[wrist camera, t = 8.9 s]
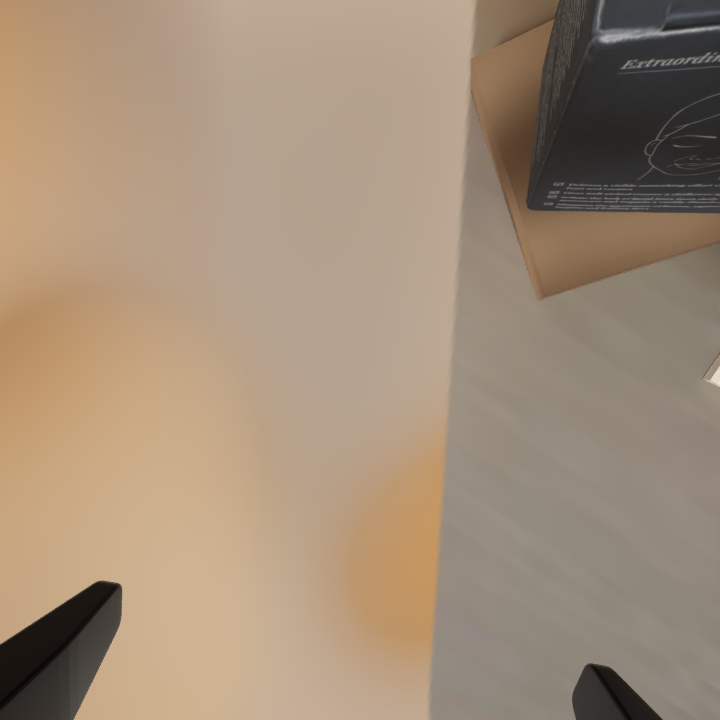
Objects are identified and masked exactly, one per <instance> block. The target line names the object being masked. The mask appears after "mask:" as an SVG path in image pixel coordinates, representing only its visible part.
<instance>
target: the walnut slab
mask: <svg viewBox="0 0 720 720" xmlns="http://www.w3.org/2000/svg"><path fill="white" fill-rule="evenodd" d="M554 21H555V19H553V20H551V21H549V22H547V23H545V24H543V25H541V26H539V27H536V28H534V29H532V30H530V31H528V32H526V33H524V34H522V35H520V36H518V37H516V38H514V39H511V40H509V41H507V42H505V43H503V44H501V45H499V46H497V47H495V48H493V49H491V50H489V51H487V52H484V53H482V54H480V55H478V56H476V57H474V58H472V59H471V94H472V97H473V100H474V103H475V106H476V109H477V113H478V116H479V119H480V122H481V125H482V128H483V131H484V134H485V138H486V141H487V144H488V147H489V150H490V153H491V156H492V159H493V162H494V166H495V169H496V172H497V175H498V178H499V181H500V184H501V187H502V191H503V194H504V197H505V200H506V203H507V206H508V209H509V212H510V215H511V219H512V222H513V225H514V228H515V231H516V234H517V237H518V240H519V244H520V247H521V250H522V253H523V256H524V259H525V262H526V265H527V269H528V272H529V275H530V278H531V281H532V284H533V287H534V290H535V293H536V297H537V300H540V299H544V298H547V297H550V296H553V295H556V294H559V293H562V292H566V291H569V290H572V289H575V288H578V287H581V286H584V285H587V284H591V283H594V282H597V281H600V280H603V279H606V278H609V277H612V276H616V275H619V274H622V273H625V272H628V271H631V270H634V269H638V268H641V267H644V266H647V265H650V264H653V263H656V262H659V261H663V260H666V259H669V258H672V257H675V256H678V255H681V254H684V253H688V252H691V251H694V250H697V249H700V248H703V247H706V246H710V245H713V244H716V243H719V242H720V213H651V212H593V211H592V212H585V211H537V210H530V209H528V208H527V204H526V199H527V191H528V185H529V178H530V168H531V161H532V152H533V146H534V138H535V128H536V120H537V115H538V103H539V94H540V88H541V79H542V70H543V65H544V60H545V56H546V51H547V47H548V44H549V40H550V35H551V32H552V28H553V24H554Z"/></svg>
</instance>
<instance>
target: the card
mask: <svg viewBox="0 0 720 720" xmlns="http://www.w3.org/2000/svg"><path fill="white" fill-rule="evenodd" d="M703 380H705V381H707V382H709V383H712V384H714V385H716V386H718V387H720V354H719V355H718V357H717V358H716V360H715V361H714V363H713V364H712V366H711V367H710V369H709V370H708V371H707V373H706V374H705V376H704V377H703Z"/></svg>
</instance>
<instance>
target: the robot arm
mask: <svg viewBox="0 0 720 720" xmlns="http://www.w3.org/2000/svg"><path fill="white" fill-rule="evenodd" d="M121 615H122V586H121V585H120V584H118V583H114V582H108V581H98V582H96V583H94V584H92V585H91V586H89V587H87V588H86V589H85V590H83V591H81V592H80V593H78V594H77V595H75V596H74V597H72V598H71V599H69V600H67V601H66V602H64V603H63V604H61V605H60V606H59V607H57V608H55V609H54V610H52V611H51V612H49V613H48V614H46V615H44V616H43V617H41V618H40V619H38V620H37V621H35V622H34V623H32V624H31V625H29V626H28V627H26V628H24V629H23V630H21V631H20V632H18V633H17V634H15V635H14V636H12V637H11V638H9V639H8V640H6V641H4V642H3V643H1V644H0V720H73V719H74V718H75V716H76V713H77V712H78V710H79V708H80V706H81V704H82V702H83V699H84V697H85V695H86V693H87V691H88V689H89V687H90V685H91V683H92V681H93V679H94V677H95V675H96V673H97V671H98V669H99V667H100V665H101V663H102V661H103V659H104V657H105V655H106V653H107V651H108V649H109V647H110V644H111V643H112V640H113V638H114V636H115V634H116V632H117V630H118V628H119V625H120V621H121ZM572 703H573V709H574V713H575V717H576V720H663V719H662V718H661V717H660V716H659V715H658V714H657V713H656V712H655V711H654V710H653V709H652V708H651V707H650V706H649V705H648V704H647V703H646V702H645V701H644V700H643V699H642V698H641V697H640V696H639V695H638V694H637V693H636V692H635V691H634V690H633V689H632V688H631V687H630V686H629V685H628V684H627V683H626V682H625V681H624V680H623V679H622V678H621V677H620V676H619V675H618V674H617V673H616V672H615V671H614V670H613V669H611V668H610V667H608V666H603V665H598V664H592V663H591V664H587V665H586V666H585V667H584V669H583V671H582V674H581V676H580V678H579V680H578V682H577V684H576V687H575V689H574V691H573V696H572Z"/></svg>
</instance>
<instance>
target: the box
mask: <svg viewBox="0 0 720 720" xmlns="http://www.w3.org/2000/svg"><path fill="white" fill-rule="evenodd" d="M526 204H527V208H528V209H530V210H537V211H585V212H592V211H593V212H651V213H720V0H560V1H559V4H558V8H557V12H556V16H555V21H554V24H553V28H552V32H551V35H550V40H549V44H548V47H547V51H546V56H545V60H544V65H543V70H542V79H541V88H540V94H539V103H538V115H537V120H536V128H535V138H534V146H533V152H532V161H531V168H530V178H529V185H528V191H527V199H526Z"/></svg>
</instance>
